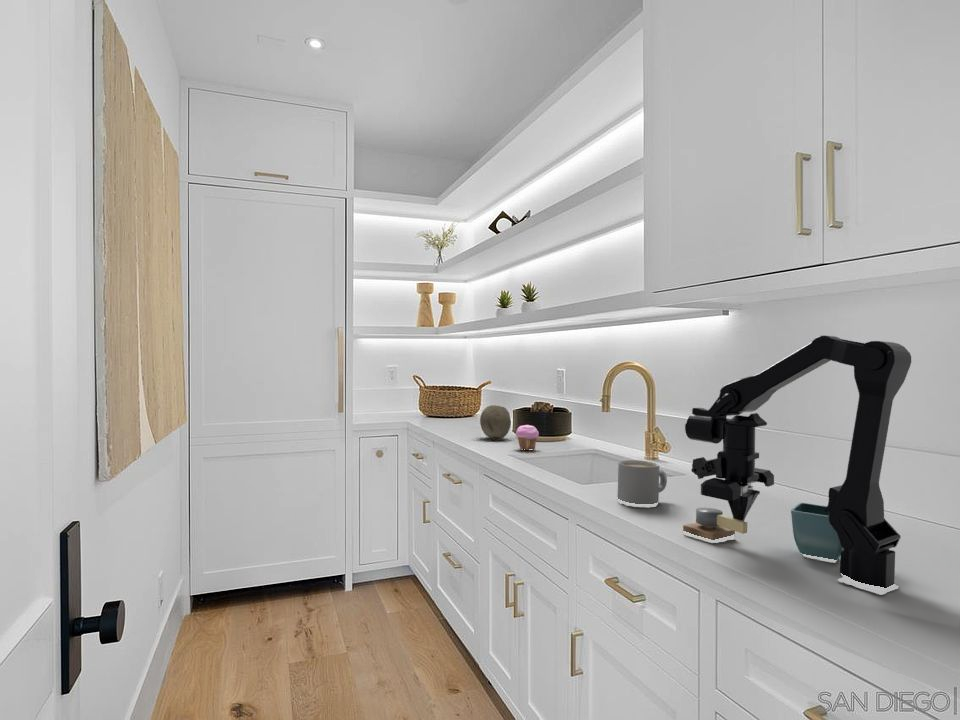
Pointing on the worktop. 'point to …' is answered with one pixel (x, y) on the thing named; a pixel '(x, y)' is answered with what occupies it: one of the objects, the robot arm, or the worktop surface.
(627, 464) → the coffee mug
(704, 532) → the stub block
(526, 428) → the cupcake
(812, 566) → the worktop surface
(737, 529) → the toy pan
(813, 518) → the flower pot
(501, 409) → the cantaloupe
